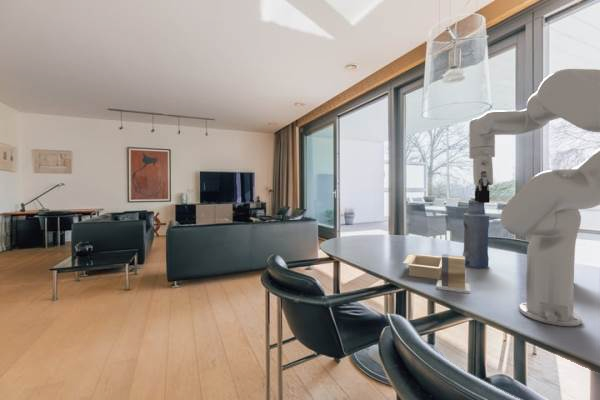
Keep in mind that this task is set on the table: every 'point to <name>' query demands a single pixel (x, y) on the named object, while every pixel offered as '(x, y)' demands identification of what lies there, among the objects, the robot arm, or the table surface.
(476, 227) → the bottle
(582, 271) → the table surface
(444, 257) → the block
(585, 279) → the table surface
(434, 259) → the carton
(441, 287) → the felt mat
